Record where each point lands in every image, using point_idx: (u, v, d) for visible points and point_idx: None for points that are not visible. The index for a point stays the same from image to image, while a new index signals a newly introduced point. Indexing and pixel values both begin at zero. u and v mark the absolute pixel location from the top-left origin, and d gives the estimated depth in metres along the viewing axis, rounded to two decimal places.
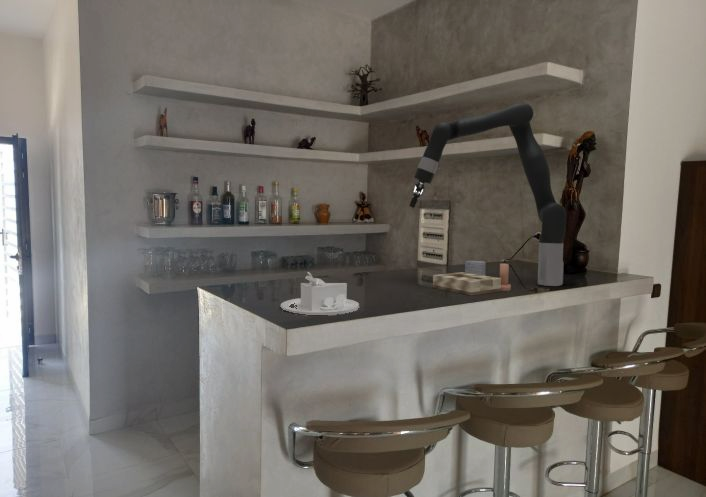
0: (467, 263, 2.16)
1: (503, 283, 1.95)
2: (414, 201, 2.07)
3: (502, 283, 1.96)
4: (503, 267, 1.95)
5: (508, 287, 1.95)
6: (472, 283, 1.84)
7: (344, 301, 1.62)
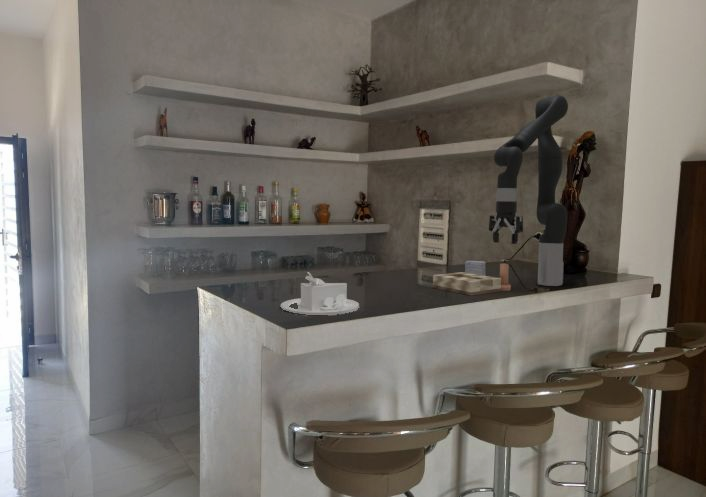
0: (467, 263, 2.16)
1: (503, 283, 1.95)
2: (516, 237, 1.91)
3: (502, 283, 1.96)
4: (503, 267, 1.95)
5: (508, 287, 1.95)
6: (472, 283, 1.84)
7: (344, 301, 1.62)
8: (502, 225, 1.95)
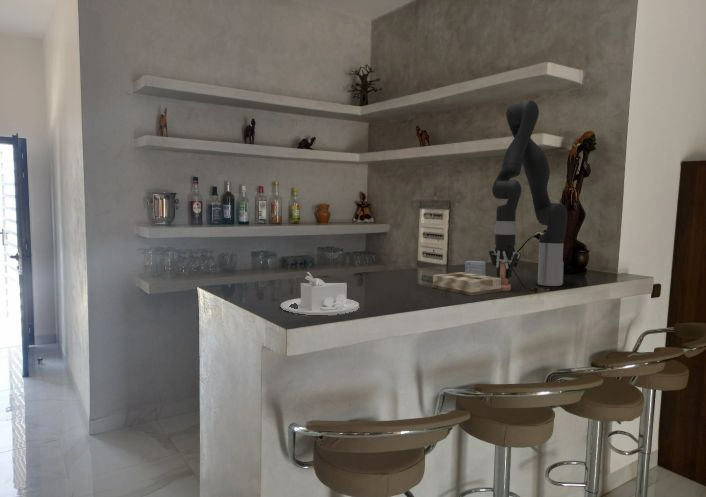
0: (467, 263, 2.16)
1: (503, 283, 1.95)
2: (510, 272, 1.94)
3: (502, 283, 1.96)
4: (503, 267, 1.95)
5: (508, 287, 1.95)
6: (472, 283, 1.84)
7: (344, 301, 1.62)
8: (501, 257, 1.96)
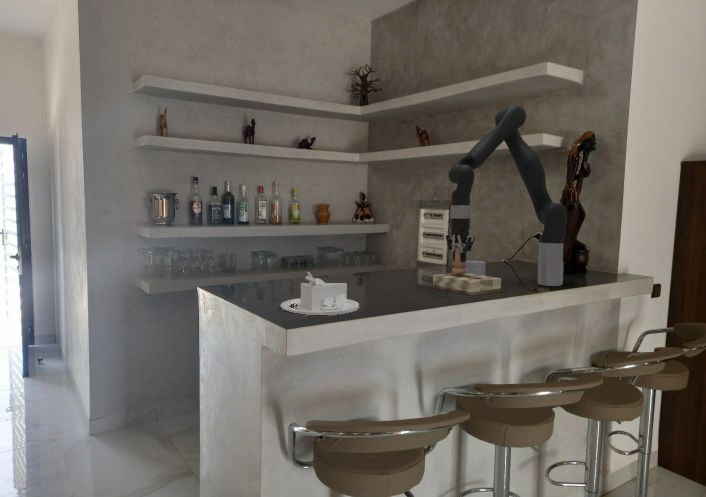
0: (467, 263, 2.16)
1: (458, 266, 1.98)
2: (465, 255, 1.97)
3: (457, 266, 1.98)
4: (458, 250, 1.97)
5: (463, 270, 1.97)
6: (472, 283, 1.84)
7: (344, 301, 1.62)
8: (456, 241, 1.98)
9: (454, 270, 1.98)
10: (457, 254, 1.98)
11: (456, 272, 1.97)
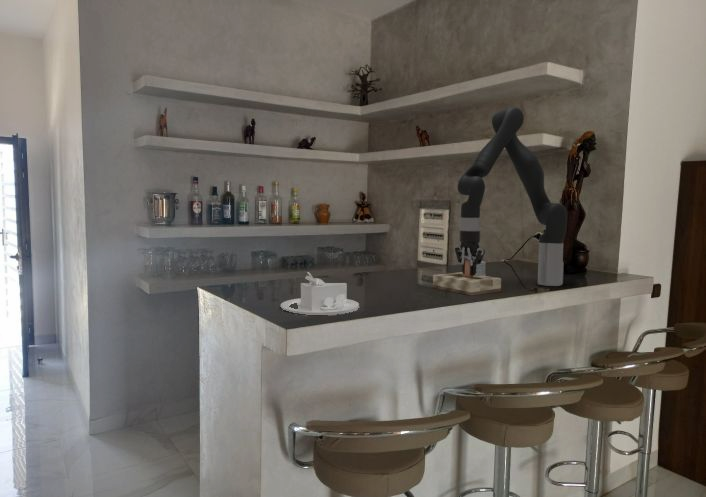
0: None
1: None
2: (475, 269, 1.93)
3: None
4: (467, 263, 1.94)
5: None
6: (472, 283, 1.84)
7: (344, 301, 1.62)
8: (466, 254, 1.95)
9: None
10: (467, 267, 1.94)
11: None
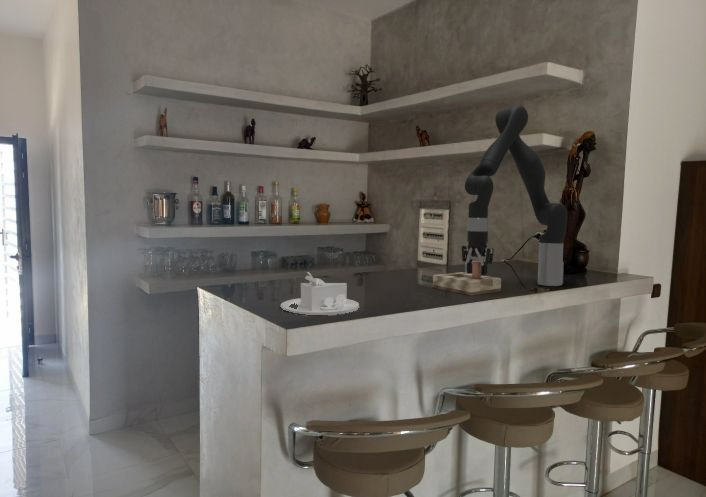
0: None
1: None
2: (486, 269, 1.88)
3: None
4: (475, 265, 1.90)
5: None
6: (472, 283, 1.84)
7: (344, 301, 1.62)
8: (473, 255, 1.91)
9: None
10: (474, 269, 1.91)
11: None
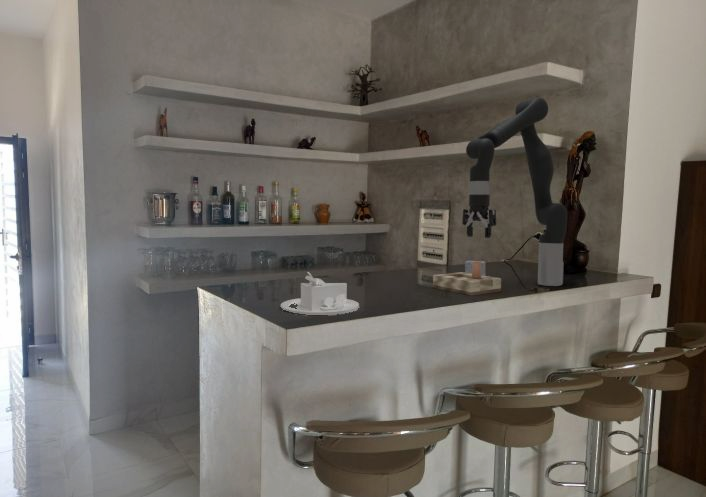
0: (467, 263, 2.16)
1: None
2: (490, 231, 1.87)
3: None
4: (475, 265, 1.90)
5: None
6: (472, 283, 1.84)
7: (344, 301, 1.62)
8: (475, 219, 1.91)
9: None
10: (474, 269, 1.91)
11: None
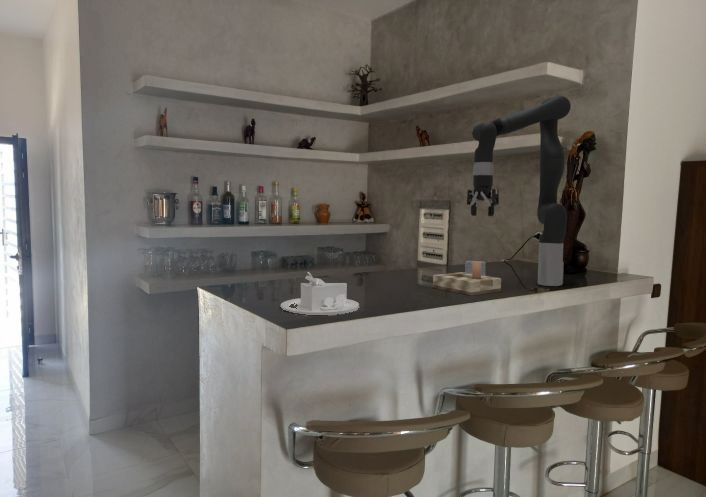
0: (467, 263, 2.16)
1: None
2: (493, 209, 1.97)
3: None
4: (475, 265, 1.90)
5: None
6: (472, 283, 1.84)
7: (344, 301, 1.62)
8: (479, 198, 2.01)
9: None
10: (474, 269, 1.91)
11: None
